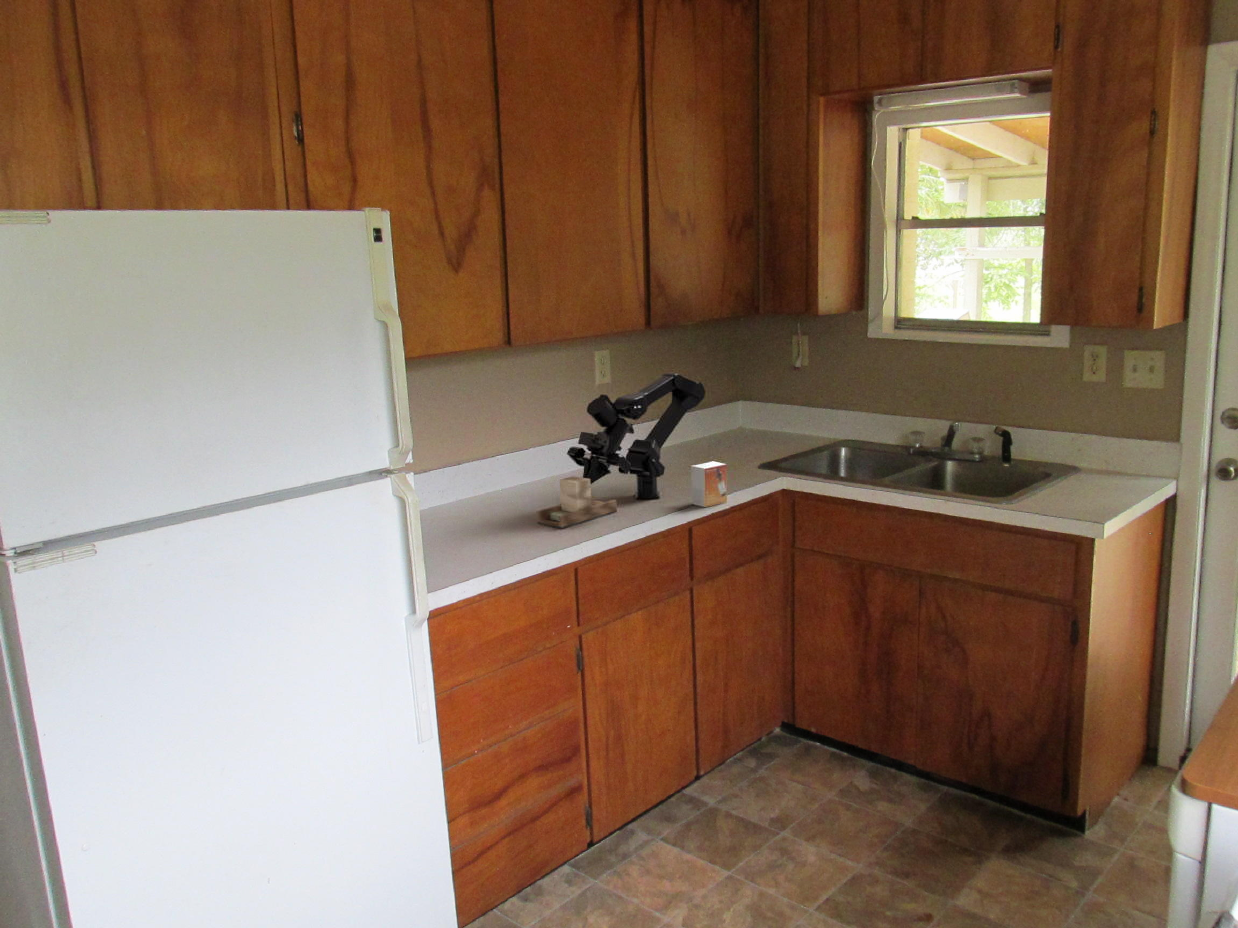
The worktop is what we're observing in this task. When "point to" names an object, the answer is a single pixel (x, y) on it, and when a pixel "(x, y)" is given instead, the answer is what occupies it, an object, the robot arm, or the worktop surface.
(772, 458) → the worktop surface
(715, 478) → the small box
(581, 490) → the block
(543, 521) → the track
